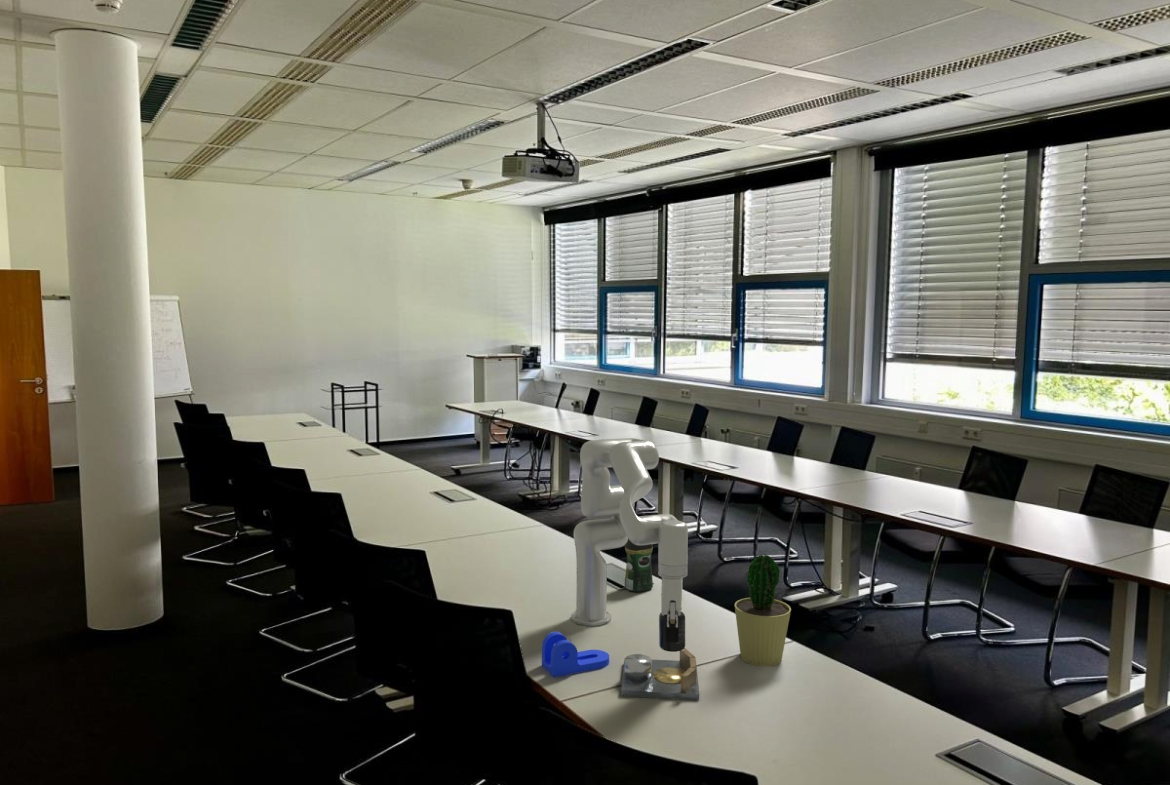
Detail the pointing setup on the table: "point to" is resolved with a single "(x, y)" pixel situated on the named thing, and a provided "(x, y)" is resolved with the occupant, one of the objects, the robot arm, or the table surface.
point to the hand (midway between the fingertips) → (671, 635)
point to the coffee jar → (638, 567)
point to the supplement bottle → (662, 634)
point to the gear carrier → (660, 677)
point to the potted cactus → (762, 615)
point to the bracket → (569, 656)
